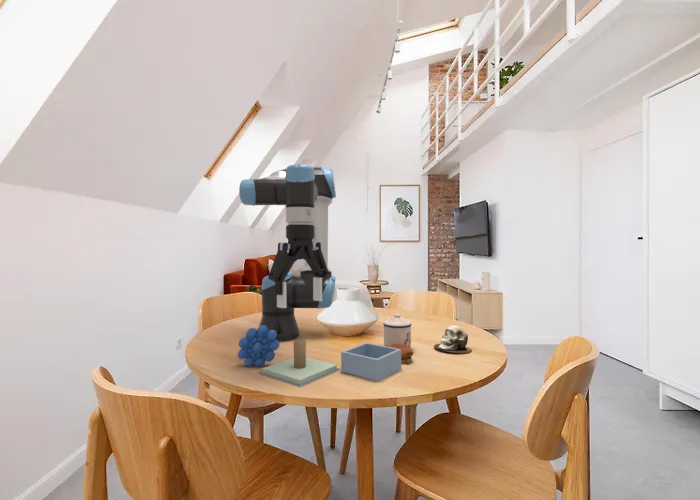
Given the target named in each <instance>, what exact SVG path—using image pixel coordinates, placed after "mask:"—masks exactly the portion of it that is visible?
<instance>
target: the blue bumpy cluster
mask: <svg viewBox="0 0 700 500" xmlns="http://www.w3.org/2000/svg"><path fill="white" fill-rule="evenodd" d="M259 326H260V325H259ZM259 326H258V328H257V329H256V328H255V327H254V328H253V327H251V328H248V330H247V331H246V333H245V336H246V337H244V336H243V337H242V338H240V339H239V341H238V347H239V348H240V349H239V350H238V352H237V358H239V359H240V360H243V365H244V366H245V367H253V366H254V367H256V368H260V367H264V366H265V364H266V362H272V361H273V360H274V359H275V358H276V353H275V351H277V350H278V349H279V348H280V341H278V340H274V339H275V338H276V336H277V333H276V331H275V330H270V331H268V328H267V327H266V326H265V325H261V326H260V327H259Z"/></svg>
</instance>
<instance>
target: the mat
mask: <svg viewBox="0 0 700 500" xmlns="http://www.w3.org/2000/svg"><path fill="white" fill-rule="evenodd" d="M339 371H341V368H338V367H337V370H334V371H332V372H330V373H327V374H325V375H323V376H320V377H318V378H315V379H313V380H311V381H308V382H306V383H304V384H301V385H298V384H295V383H292V382H289V381H286V380H283V379H280V378H277V377H273V376H270V375H267V374H264V373H262V371H259V372H256V374H258V375H260V376H263V377H267V378H270V379H272V380H275V381H279V382H282V383H286V384H288V385H292V386H295V387H297V388H302V387H304V386H307V385H309V384H312V383H314V382H316V381H318V380H321V379H323V378H325V377H327V376H330V375H333V374H335V373H337V372H339Z"/></svg>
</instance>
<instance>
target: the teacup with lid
mask: <svg viewBox="0 0 700 500" xmlns="http://www.w3.org/2000/svg"><path fill="white" fill-rule="evenodd" d="M382 325H383V346H385V345H388V344H403V345H407V346H409V347H410V348H411V347H412V346H411V345H412V344H411V343H412V341H411V340H412V339H411V337H412V335H411V333H412V332H411V329H412V322H411V321H410V320H408V319H406V318H404V317H402V316H401V314H400V313H394V314H393V316H392V317H391V318H389V319H386V320H384V321H383V324H382ZM411 349H412V348H411Z"/></svg>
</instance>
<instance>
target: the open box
mask: <svg viewBox="0 0 700 500" xmlns="http://www.w3.org/2000/svg"><path fill="white" fill-rule="evenodd" d="M340 360H341V361H340V366H341V367H340V369H341V370H340V373H343V374H346V375H351V376H354V377H357V378H362V379H365V380H369V381H373V382H375V383H376V382H377V383H378V382H380V381H382V380H385V379H386V378H388V377H390V376H392V375H393V374H395V373H397V372H398V371H401V370H402V364H401V349H396V348H391V347H386V346H384V345H380V344H376V343H370V342H364V343H361V344H358V345H356V346H353V347H351V348H348V349H345V350H342V351H340Z"/></svg>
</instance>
